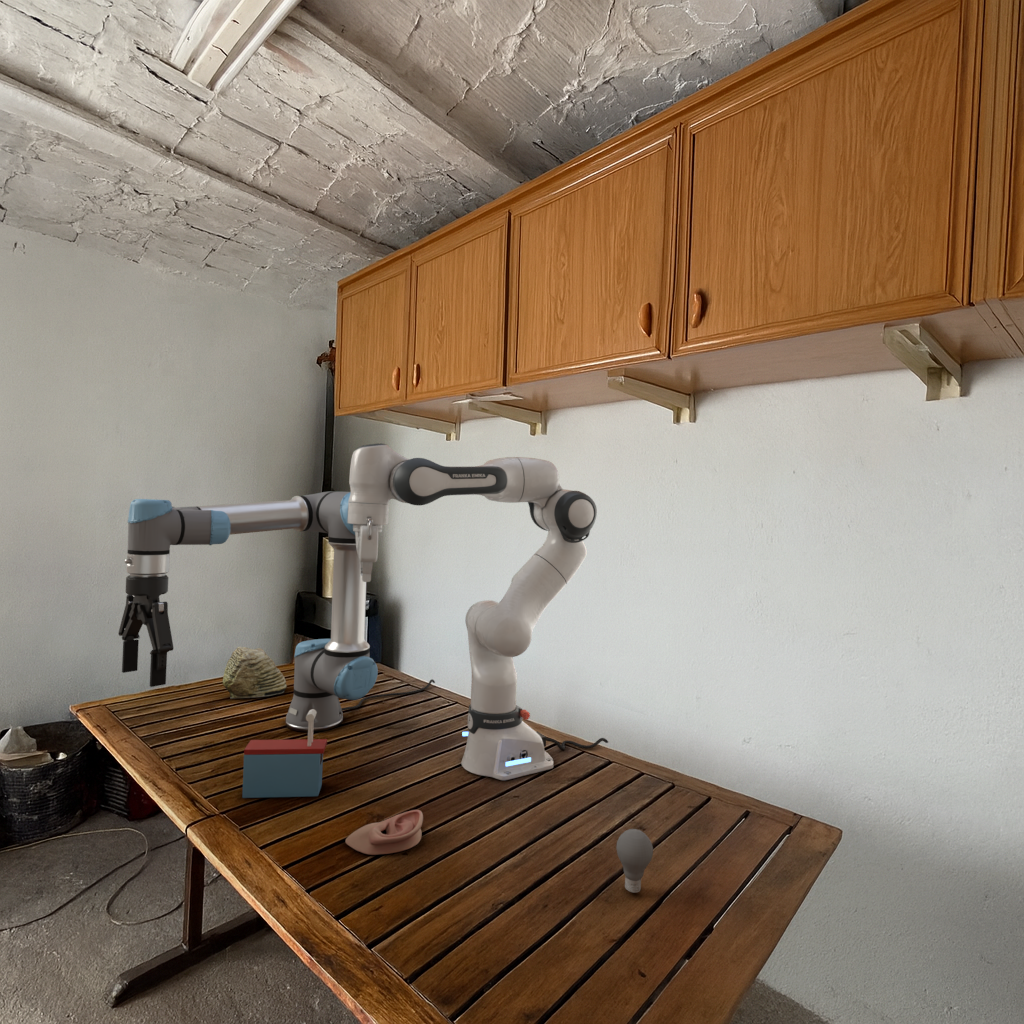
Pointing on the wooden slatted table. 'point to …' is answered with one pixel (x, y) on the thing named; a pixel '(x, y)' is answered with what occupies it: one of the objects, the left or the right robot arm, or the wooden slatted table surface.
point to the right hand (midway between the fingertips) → (365, 578)
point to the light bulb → (634, 857)
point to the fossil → (252, 674)
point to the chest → (282, 775)
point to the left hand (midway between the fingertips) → (143, 678)
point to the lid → (289, 743)
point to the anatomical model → (388, 834)
